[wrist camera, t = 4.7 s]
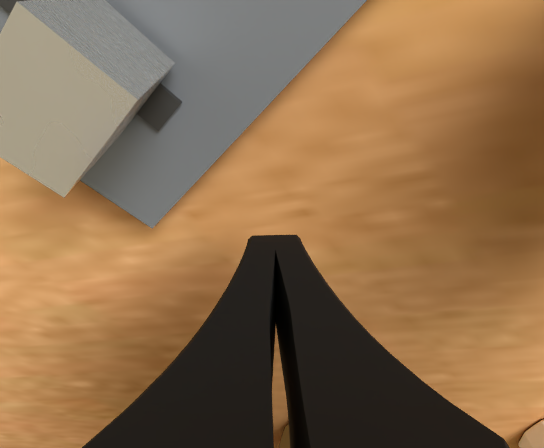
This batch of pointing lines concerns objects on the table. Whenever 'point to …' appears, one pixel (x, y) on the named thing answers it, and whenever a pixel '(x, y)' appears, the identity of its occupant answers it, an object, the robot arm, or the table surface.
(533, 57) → the table surface
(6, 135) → the metal slider
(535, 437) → the white cup
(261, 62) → the control board
